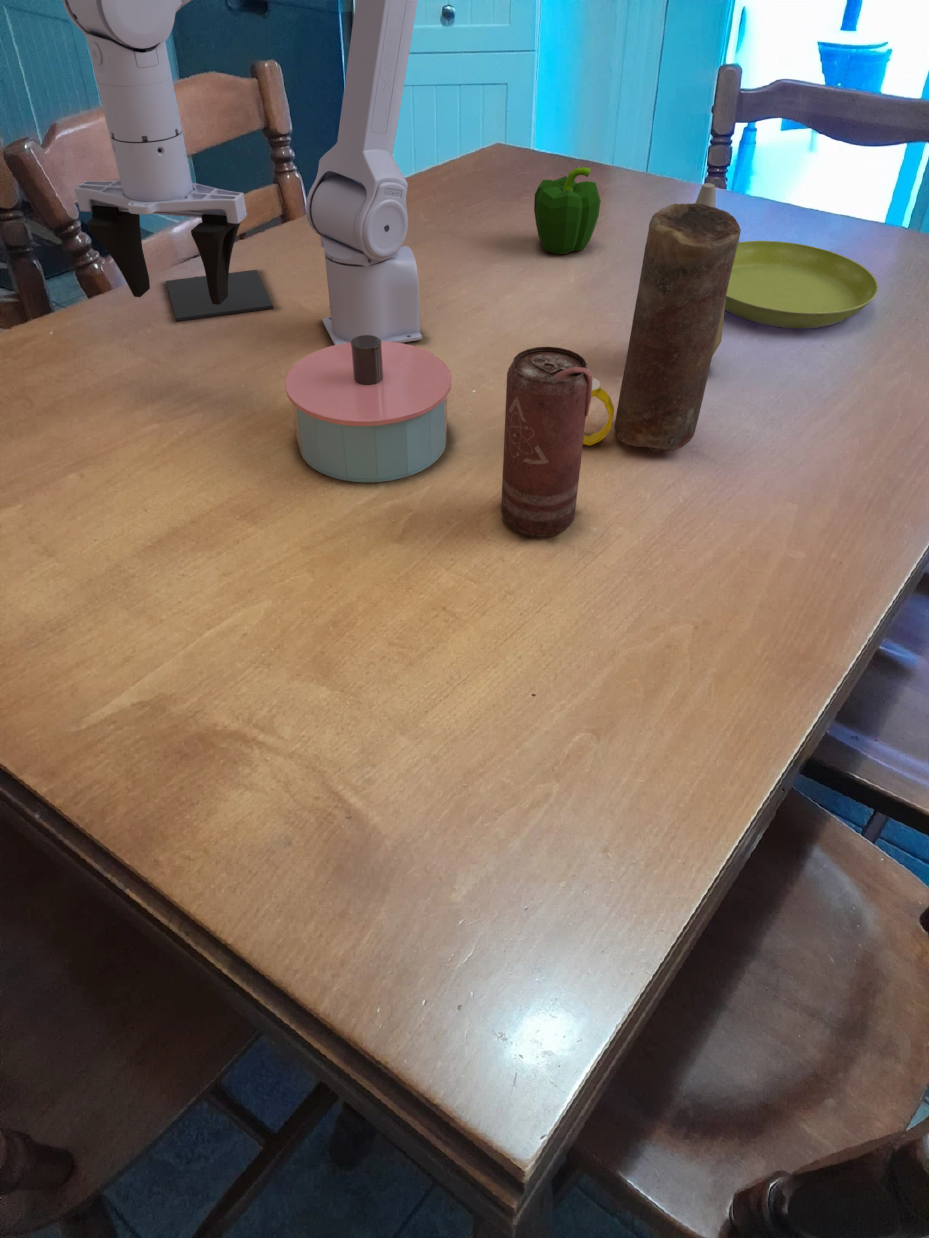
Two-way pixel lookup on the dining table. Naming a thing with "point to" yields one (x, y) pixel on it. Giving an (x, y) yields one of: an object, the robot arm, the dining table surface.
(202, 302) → the mat
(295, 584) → the dining table surface
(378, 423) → the lid
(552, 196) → the bell pepper
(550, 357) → the can
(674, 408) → the candle
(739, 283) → the saucer
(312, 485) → the dining table surface
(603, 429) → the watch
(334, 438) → the bowl
